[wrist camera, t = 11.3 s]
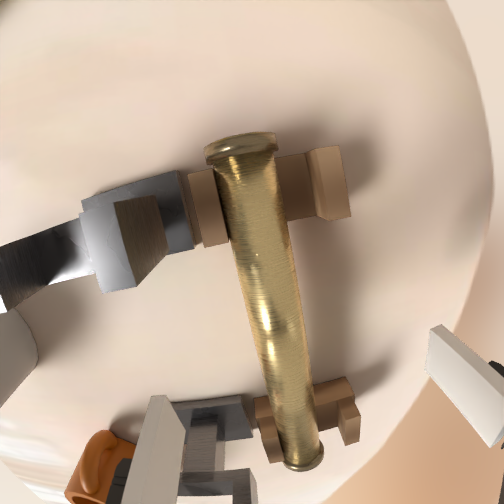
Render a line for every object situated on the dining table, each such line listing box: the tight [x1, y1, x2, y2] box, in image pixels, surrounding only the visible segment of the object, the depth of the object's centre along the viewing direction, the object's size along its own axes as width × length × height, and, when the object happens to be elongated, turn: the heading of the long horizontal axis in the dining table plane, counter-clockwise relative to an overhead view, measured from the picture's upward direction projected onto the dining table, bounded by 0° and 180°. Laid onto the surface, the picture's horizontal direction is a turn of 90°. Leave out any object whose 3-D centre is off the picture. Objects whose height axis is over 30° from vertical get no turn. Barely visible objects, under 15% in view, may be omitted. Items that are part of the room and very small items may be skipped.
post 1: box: [0, 170, 196, 313], centre depth 13 cm, size 5×7×11 cm
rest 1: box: [187, 145, 351, 248], centre depth 16 cm, size 4×8×5 cm, turn 102°
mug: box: [64, 430, 136, 504], centre depth 19 cm, size 9×12×9 cm
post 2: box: [171, 395, 258, 504], centre depth 17 cm, size 5×7×11 cm
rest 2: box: [254, 377, 361, 463], centre depth 20 cm, size 4×8×5 cm, turn 102°
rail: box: [204, 132, 324, 472], centre depth 16 cm, size 24×4×4 cm
